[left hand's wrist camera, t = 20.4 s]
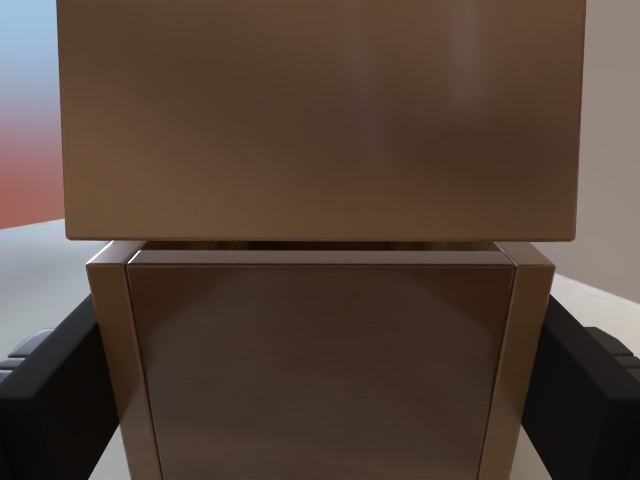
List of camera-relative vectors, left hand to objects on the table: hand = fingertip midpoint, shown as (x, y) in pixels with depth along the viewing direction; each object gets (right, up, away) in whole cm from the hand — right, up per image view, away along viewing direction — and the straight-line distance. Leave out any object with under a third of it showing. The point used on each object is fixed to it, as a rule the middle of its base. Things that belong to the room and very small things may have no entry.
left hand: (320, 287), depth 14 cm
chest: (0, -5, +7) cm, 8 cm away
